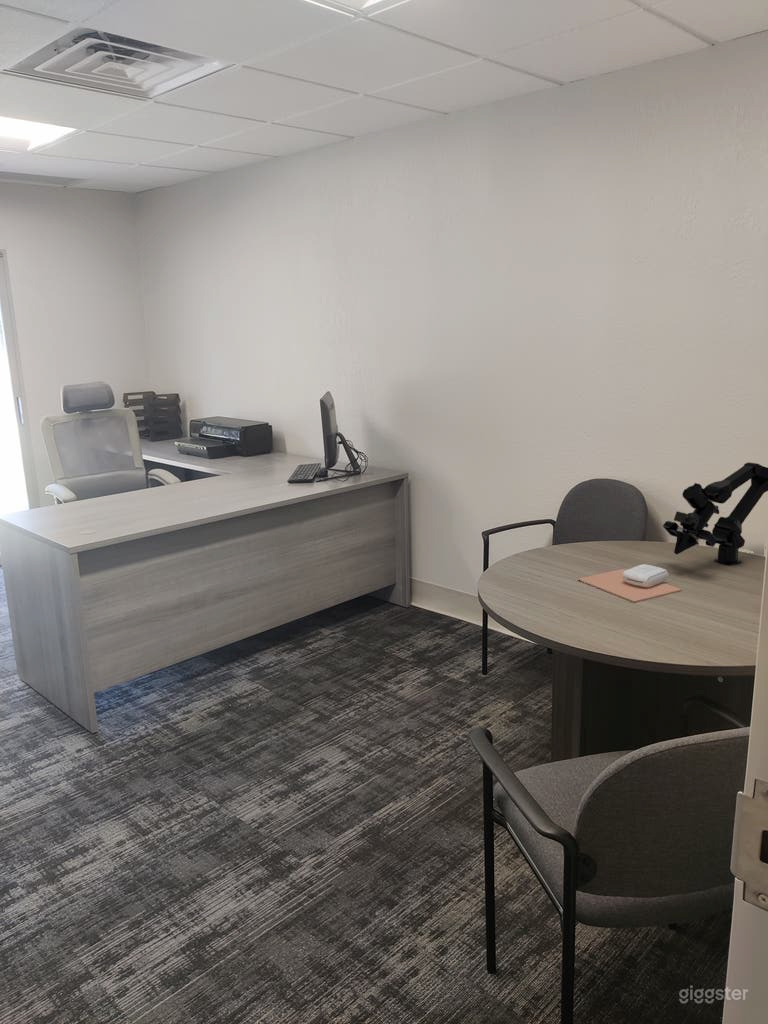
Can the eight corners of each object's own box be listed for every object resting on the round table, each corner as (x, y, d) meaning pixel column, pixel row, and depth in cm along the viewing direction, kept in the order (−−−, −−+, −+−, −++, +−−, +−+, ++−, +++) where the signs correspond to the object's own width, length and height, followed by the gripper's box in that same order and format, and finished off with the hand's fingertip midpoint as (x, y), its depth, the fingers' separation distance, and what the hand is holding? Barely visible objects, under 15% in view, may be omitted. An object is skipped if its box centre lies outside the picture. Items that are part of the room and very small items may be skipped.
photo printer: (641, 574, 259) (618, 583, 252) (641, 562, 258) (619, 570, 251) (668, 581, 251) (646, 590, 244) (669, 569, 250) (647, 577, 243)
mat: (623, 570, 266) (623, 568, 266) (681, 590, 244) (681, 589, 243) (577, 580, 258) (577, 578, 258) (634, 602, 235) (634, 601, 235)
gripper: (667, 497, 264) (642, 534, 262) (711, 507, 248) (685, 546, 246) (683, 516, 269) (659, 552, 267) (727, 527, 253) (702, 565, 251)
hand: (675, 553), depth 258 cm, fingers closed
